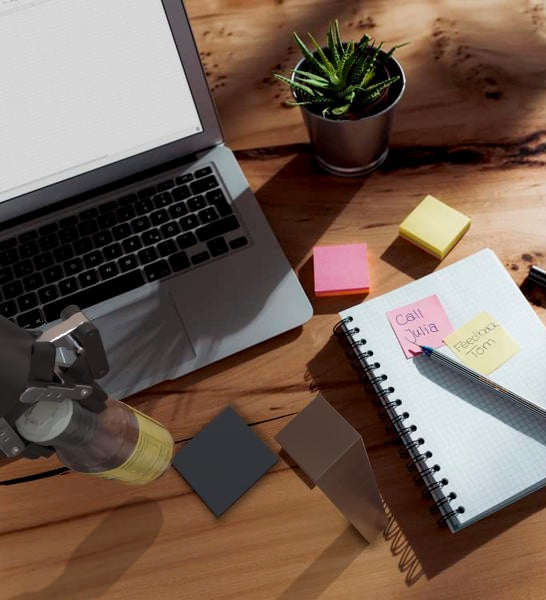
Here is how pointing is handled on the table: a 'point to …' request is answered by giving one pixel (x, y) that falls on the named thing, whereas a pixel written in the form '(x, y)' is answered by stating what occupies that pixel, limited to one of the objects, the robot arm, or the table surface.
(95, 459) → the sauce bottle
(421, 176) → the table surface
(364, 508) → the walnut post
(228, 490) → the mat
